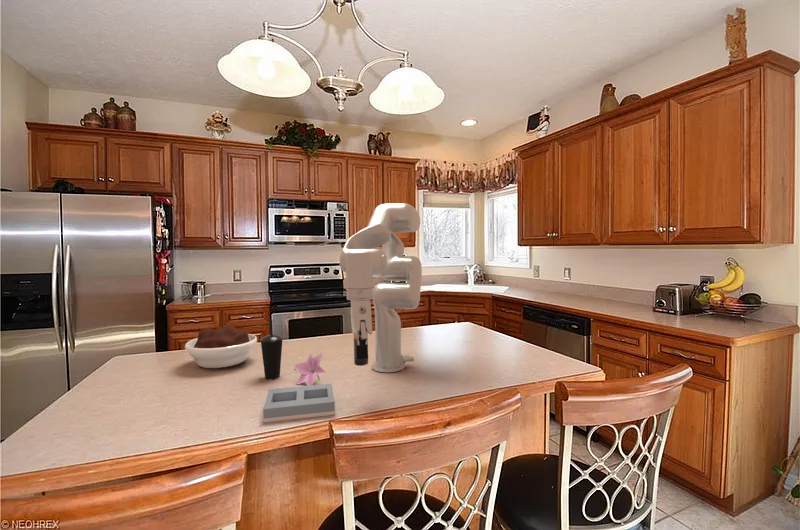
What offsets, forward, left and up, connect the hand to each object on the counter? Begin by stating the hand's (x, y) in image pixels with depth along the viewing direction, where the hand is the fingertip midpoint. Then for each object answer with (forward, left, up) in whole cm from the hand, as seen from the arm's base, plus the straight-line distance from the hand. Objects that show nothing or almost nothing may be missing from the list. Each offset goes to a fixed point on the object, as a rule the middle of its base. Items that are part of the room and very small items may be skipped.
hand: (361, 355), depth 109 cm
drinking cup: (+27, -27, -13) cm, 41 cm away
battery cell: (0, 0, -2) cm, 2 cm away
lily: (+14, -19, -14) cm, 27 cm away
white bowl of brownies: (+47, -47, -14) cm, 68 cm away
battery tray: (+17, +1, -13) cm, 22 cm away
